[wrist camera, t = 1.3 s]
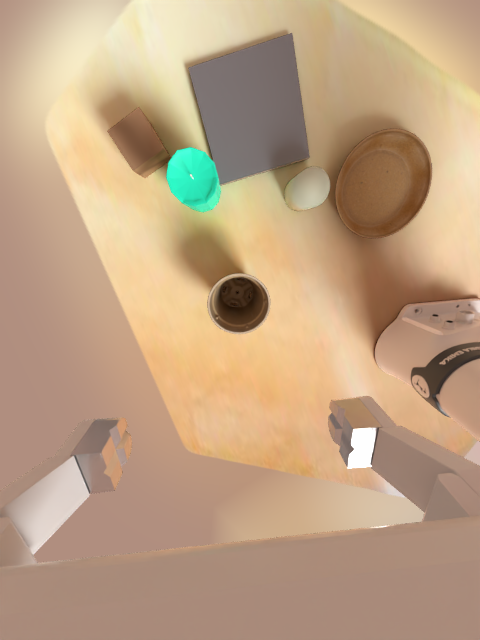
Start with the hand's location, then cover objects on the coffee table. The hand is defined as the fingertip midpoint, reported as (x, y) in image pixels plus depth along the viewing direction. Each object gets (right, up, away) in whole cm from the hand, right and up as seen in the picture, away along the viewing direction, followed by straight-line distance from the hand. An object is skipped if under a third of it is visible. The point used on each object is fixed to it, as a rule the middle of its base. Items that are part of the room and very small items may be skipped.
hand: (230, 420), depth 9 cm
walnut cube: (-13, +29, +26) cm, 41 cm away
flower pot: (0, +9, +34) cm, 35 cm away
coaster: (+2, +33, +25) cm, 41 cm away
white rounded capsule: (+10, +24, +29) cm, 39 cm away
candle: (-6, +24, +28) cm, 37 cm away
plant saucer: (+22, +25, +29) cm, 45 cm away
